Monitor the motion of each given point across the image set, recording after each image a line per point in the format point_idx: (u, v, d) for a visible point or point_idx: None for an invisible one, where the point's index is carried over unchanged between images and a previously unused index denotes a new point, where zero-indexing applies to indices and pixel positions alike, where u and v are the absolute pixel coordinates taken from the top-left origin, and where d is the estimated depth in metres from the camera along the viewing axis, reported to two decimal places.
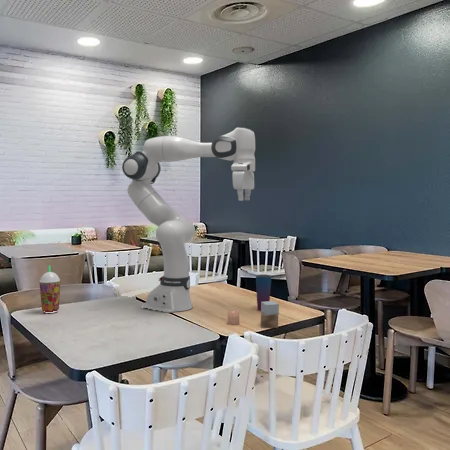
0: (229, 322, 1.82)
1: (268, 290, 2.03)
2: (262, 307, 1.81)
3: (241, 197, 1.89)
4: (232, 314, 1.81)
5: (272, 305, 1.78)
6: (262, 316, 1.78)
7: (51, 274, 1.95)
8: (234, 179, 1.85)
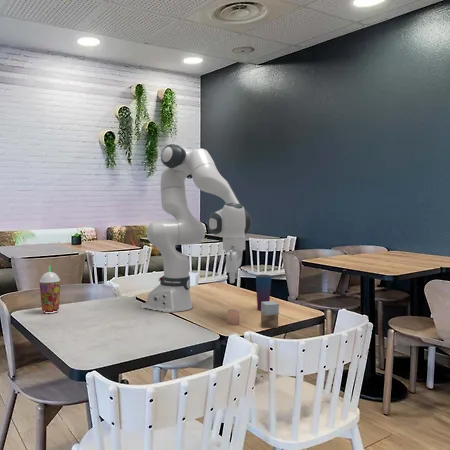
0: (229, 322, 1.82)
1: (268, 290, 2.03)
2: (262, 307, 1.81)
3: None
4: (232, 314, 1.81)
5: (272, 305, 1.78)
6: (262, 316, 1.78)
7: (51, 274, 1.95)
8: None
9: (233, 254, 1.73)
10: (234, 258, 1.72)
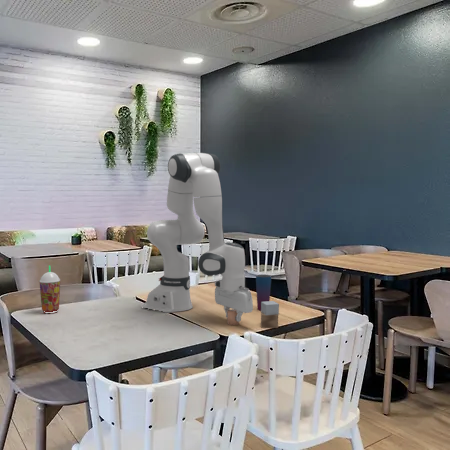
0: (229, 322, 1.82)
1: (268, 290, 2.03)
2: (262, 307, 1.81)
3: None
4: (232, 313, 1.81)
5: (272, 305, 1.78)
6: (262, 316, 1.78)
7: (51, 274, 1.95)
8: None
9: None
10: (251, 298, 1.76)
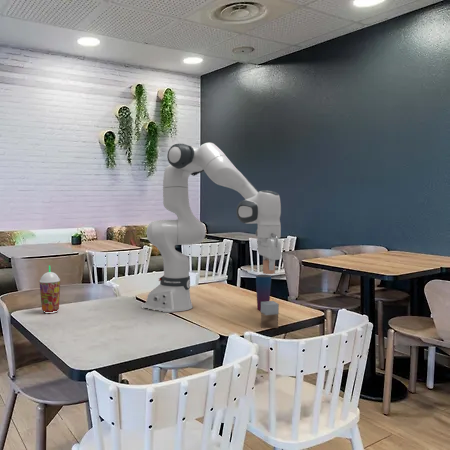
0: (263, 271, 1.79)
1: (268, 290, 2.03)
2: (261, 307, 1.81)
3: None
4: (265, 262, 1.78)
5: (272, 305, 1.78)
6: (262, 316, 1.78)
7: (51, 274, 1.95)
8: None
9: (277, 240, 1.70)
10: (279, 245, 1.70)
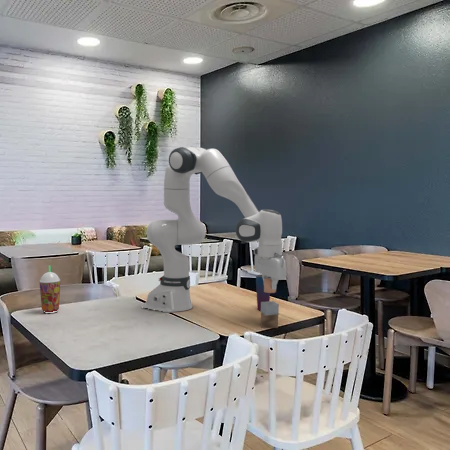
0: (265, 290, 1.79)
1: None
2: (261, 307, 1.81)
3: None
4: (267, 281, 1.78)
5: (272, 305, 1.78)
6: (262, 316, 1.78)
7: (51, 274, 1.95)
8: None
9: None
10: (285, 265, 1.71)
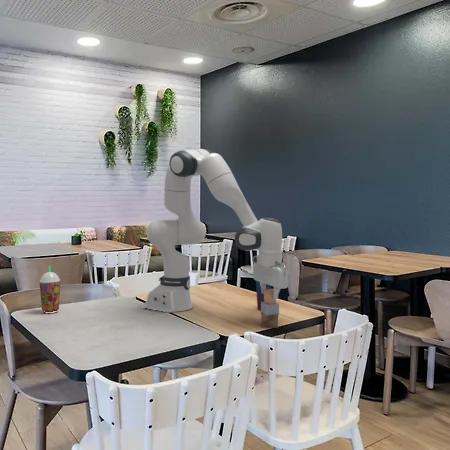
0: (265, 301, 1.79)
1: None
2: (262, 307, 1.81)
3: None
4: (268, 292, 1.78)
5: (272, 305, 1.78)
6: (262, 316, 1.78)
7: (51, 274, 1.95)
8: None
9: None
10: (286, 273, 1.72)
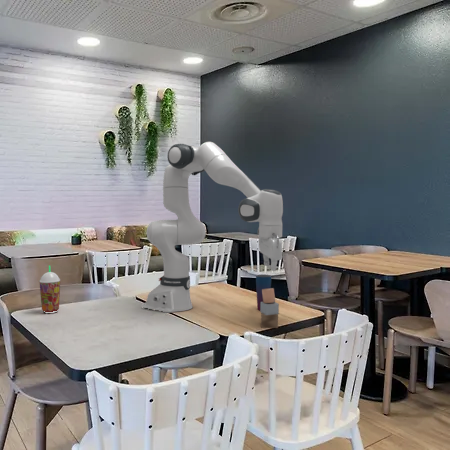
0: (265, 300, 1.79)
1: None
2: (261, 307, 1.81)
3: None
4: (267, 291, 1.78)
5: (272, 305, 1.78)
6: (262, 316, 1.78)
7: (51, 274, 1.95)
8: None
9: (279, 241, 1.70)
10: (280, 245, 1.70)
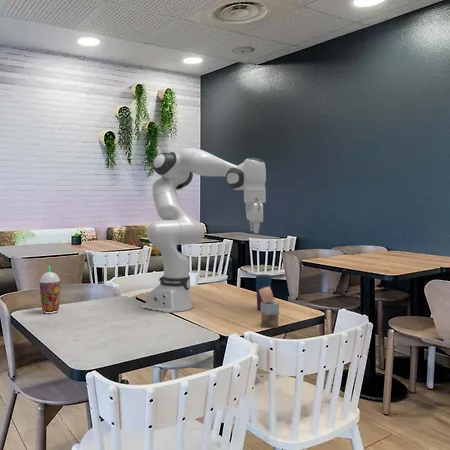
0: (273, 297, 1.80)
1: None
2: (261, 307, 1.81)
3: None
4: None
5: (272, 305, 1.78)
6: (262, 316, 1.78)
7: (51, 274, 1.95)
8: None
9: (260, 204, 1.81)
10: (262, 208, 1.81)
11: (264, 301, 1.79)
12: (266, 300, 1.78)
